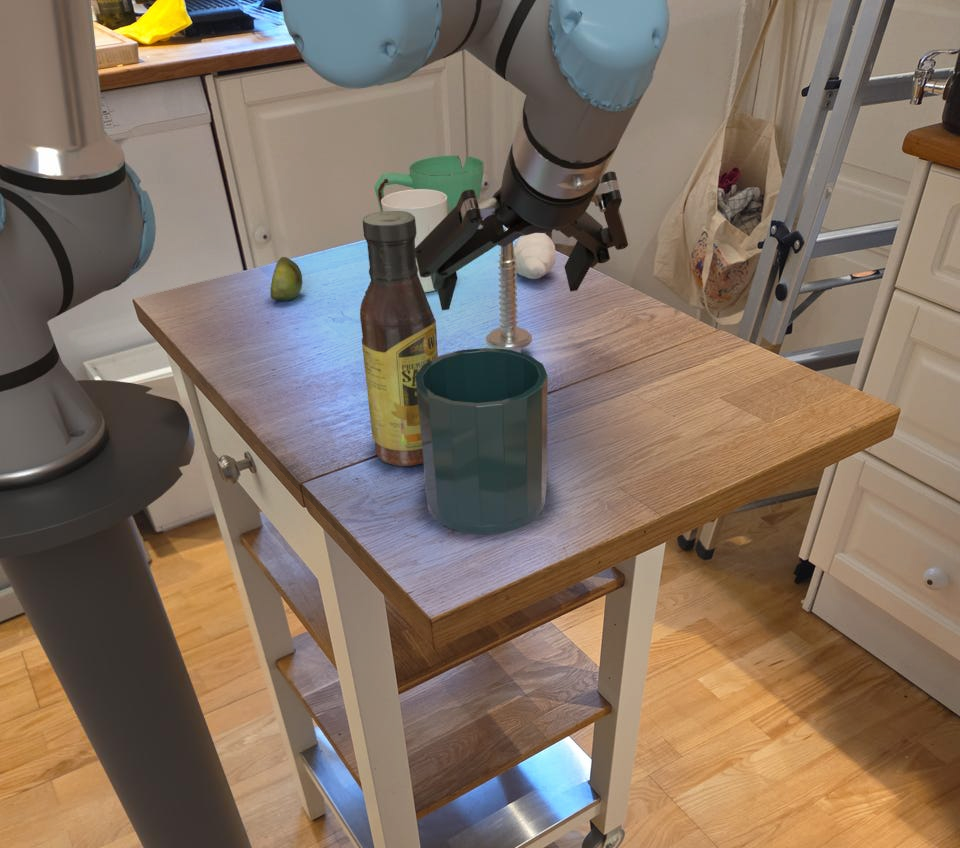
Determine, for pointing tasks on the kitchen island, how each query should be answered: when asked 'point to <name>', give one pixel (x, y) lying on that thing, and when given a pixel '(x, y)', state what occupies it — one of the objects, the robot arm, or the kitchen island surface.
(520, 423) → the crock
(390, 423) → the sauce bottle
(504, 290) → the screw
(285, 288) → the lime
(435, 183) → the mug
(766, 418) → the kitchen island surface
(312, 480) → the kitchen island surface
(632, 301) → the kitchen island surface
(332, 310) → the kitchen island surface
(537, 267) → the garlic bulb
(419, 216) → the white cup
